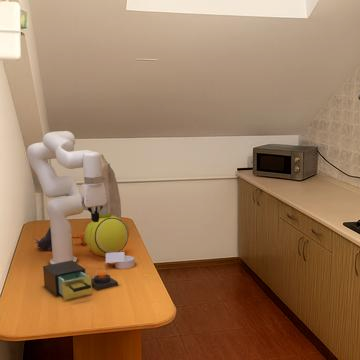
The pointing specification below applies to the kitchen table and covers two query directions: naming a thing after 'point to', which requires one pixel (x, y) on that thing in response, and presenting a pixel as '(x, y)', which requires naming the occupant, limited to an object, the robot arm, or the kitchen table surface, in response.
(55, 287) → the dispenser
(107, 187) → the pillow
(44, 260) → the kitchen table surface
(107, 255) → the wedge on round base
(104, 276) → the button
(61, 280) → the tray
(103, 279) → the control block
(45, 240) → the dragon figurine
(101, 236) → the toy
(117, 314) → the kitchen table surface
